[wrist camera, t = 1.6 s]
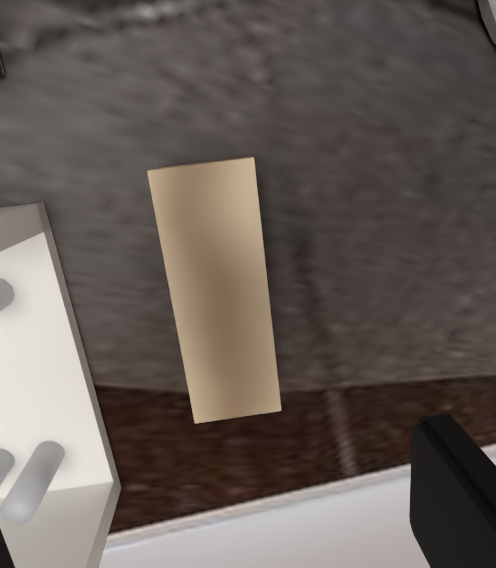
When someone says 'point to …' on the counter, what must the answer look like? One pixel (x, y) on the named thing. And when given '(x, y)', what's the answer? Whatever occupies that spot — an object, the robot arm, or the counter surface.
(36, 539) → the peg frame
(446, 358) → the counter surface
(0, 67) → the box
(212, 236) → the oak board
